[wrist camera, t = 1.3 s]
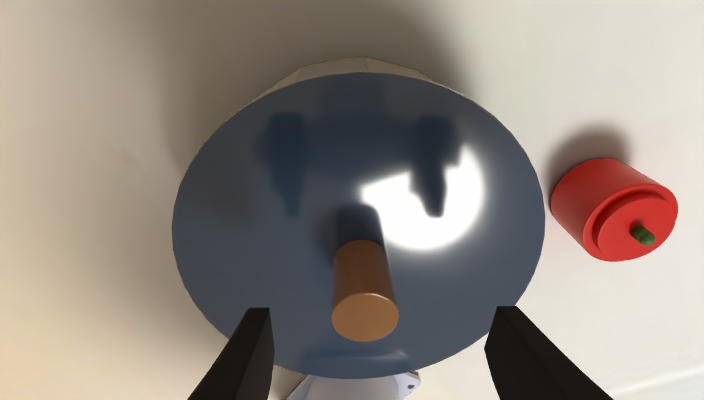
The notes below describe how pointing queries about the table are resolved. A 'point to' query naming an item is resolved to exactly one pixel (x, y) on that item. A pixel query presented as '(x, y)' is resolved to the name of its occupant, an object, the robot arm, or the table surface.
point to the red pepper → (613, 209)
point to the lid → (359, 222)
